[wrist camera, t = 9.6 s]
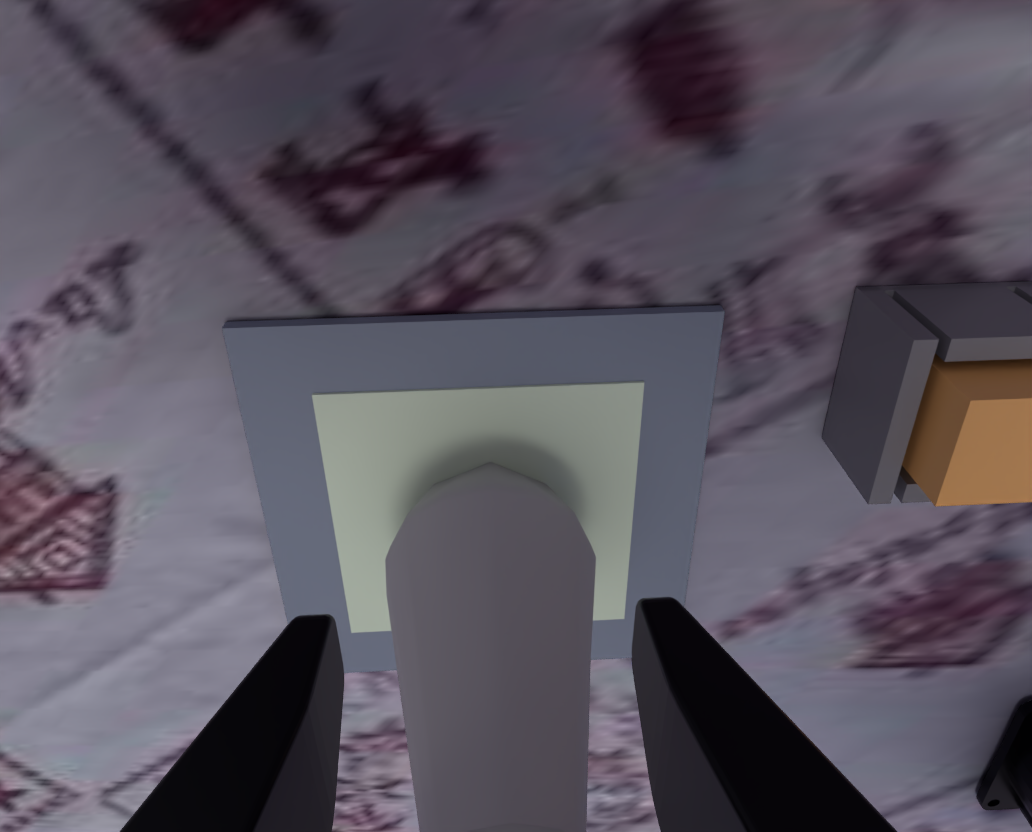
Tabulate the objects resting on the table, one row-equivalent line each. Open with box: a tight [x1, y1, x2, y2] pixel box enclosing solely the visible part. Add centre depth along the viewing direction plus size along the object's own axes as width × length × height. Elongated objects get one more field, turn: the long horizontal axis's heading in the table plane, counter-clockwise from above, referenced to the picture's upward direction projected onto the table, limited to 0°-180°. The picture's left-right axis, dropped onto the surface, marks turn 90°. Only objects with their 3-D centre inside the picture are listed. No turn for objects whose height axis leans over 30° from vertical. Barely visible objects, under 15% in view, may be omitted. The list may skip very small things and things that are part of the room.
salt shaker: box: [385, 462, 596, 832], centre depth 19 cm, size 6×6×13 cm
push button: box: [902, 353, 1032, 506], centre depth 20 cm, size 3×3×3 cm
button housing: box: [822, 281, 1032, 504], centre depth 21 cm, size 5×5×3 cm
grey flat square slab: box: [222, 305, 725, 673], centre depth 24 cm, size 13×13×1 cm
